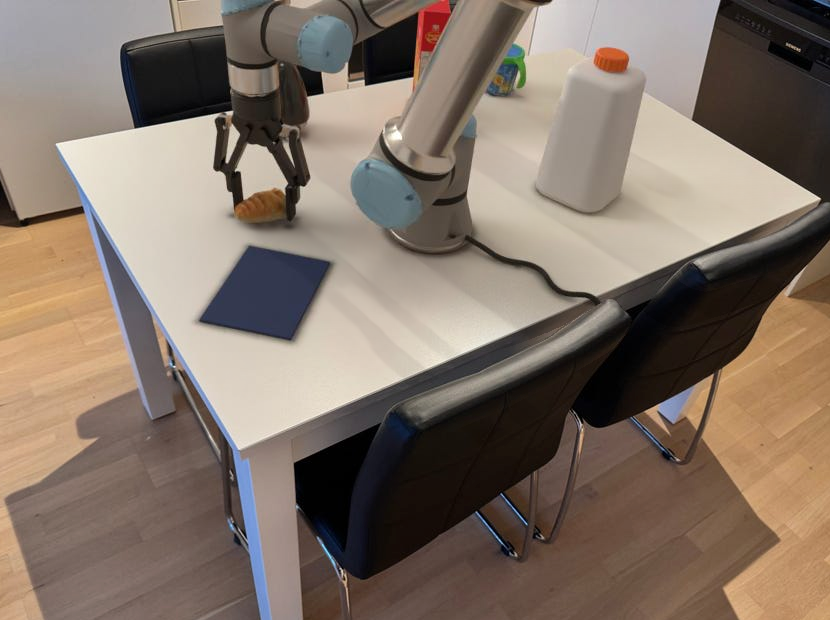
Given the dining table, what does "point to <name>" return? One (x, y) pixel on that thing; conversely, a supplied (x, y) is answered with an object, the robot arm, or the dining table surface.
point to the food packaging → (429, 34)
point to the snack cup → (509, 72)
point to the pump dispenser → (292, 96)
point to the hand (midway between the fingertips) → (265, 212)
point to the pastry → (262, 207)
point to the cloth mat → (266, 292)
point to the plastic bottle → (592, 132)
